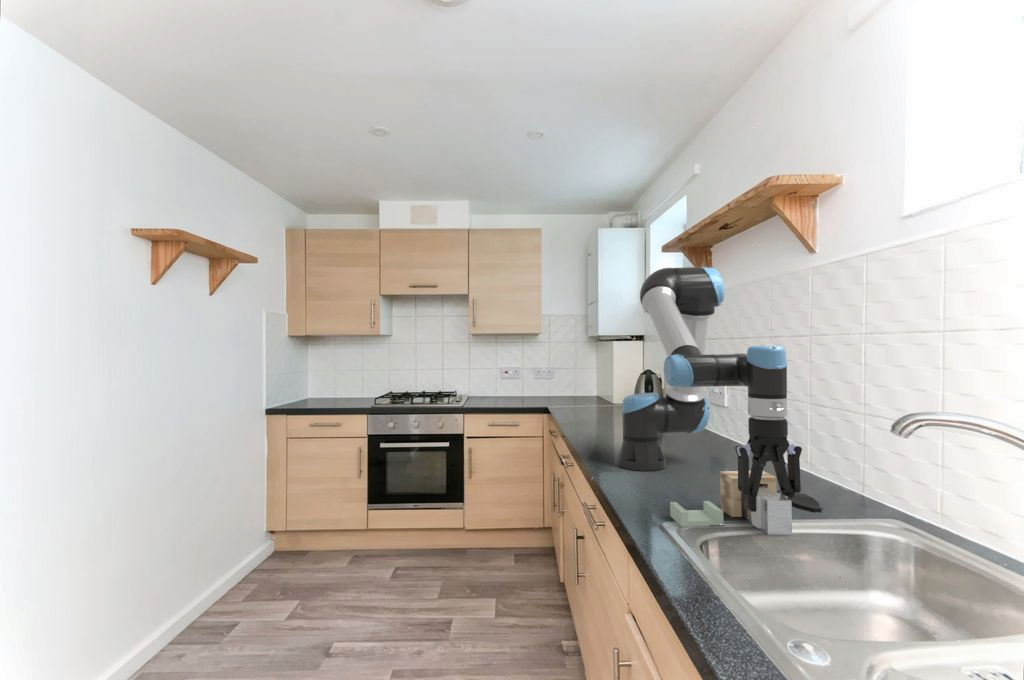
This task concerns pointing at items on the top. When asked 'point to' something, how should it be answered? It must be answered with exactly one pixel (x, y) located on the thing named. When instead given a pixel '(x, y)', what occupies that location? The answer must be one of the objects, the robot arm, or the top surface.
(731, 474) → the block
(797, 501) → the fan shaped piece
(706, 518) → the cradle
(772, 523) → the steel bar
